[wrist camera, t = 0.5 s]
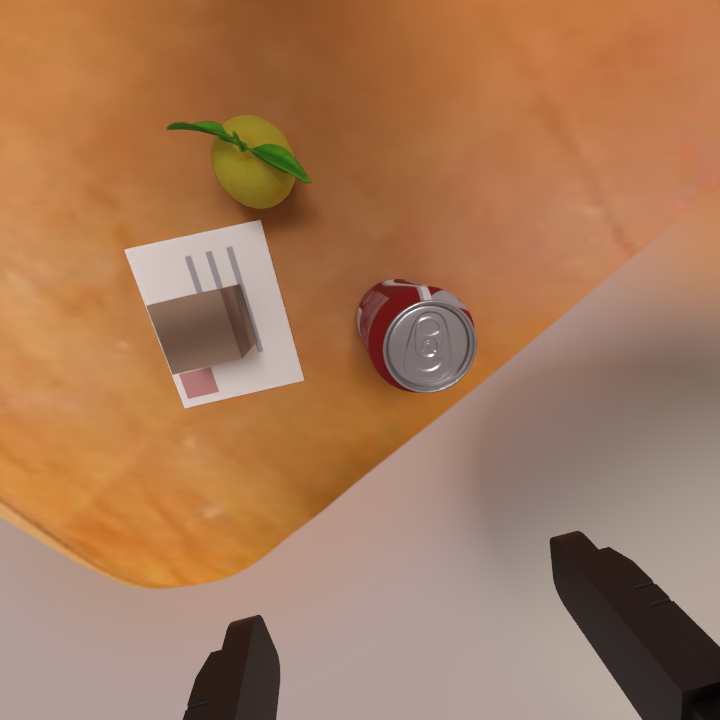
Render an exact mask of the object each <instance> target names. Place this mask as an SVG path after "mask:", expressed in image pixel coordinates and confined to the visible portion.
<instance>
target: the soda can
mask: <svg viewBox="0 0 720 720" xmlns="http://www.w3.org/2000/svg"><path fill="white" fill-rule="evenodd" d="M357 327H358V331H359V334H360V336H361V338H362V340H363V343H364V345H365V347H366V349H367V351H368V353H369V356H370V358H371V360H372V362H373V364H374V366H375V368H376V370H377V371H378V373H379V374H380V375H381V376H382V377H383V378H384V379H385V380H386V381H387V382H388V383H390V384H391V385H393V386H395V387H397V388H399V389H402V390H405V391H409V392H420V393H433V392H438V391H442V390H445V389H447V388H449V387H451V386H453V385H454V384H456V383H457V382H458V381H459V380H460V379H461V378H462V377H463V376H464V375H465V374H466V373H467V371H468V370H469V368H470V367H471V365H472V363H473V360H474V358H475V354H476V348H477V339H476V333H475V329H474V324H473V320H472V317H471V315H470V313H469V311H468V310H467V308H466V307H465V305H464V304H463V303H462V302H461V301H460V300H459V299H458V298H457V297H456V296H454V295H453V294H451V293H449V292H447V291H445V290H443V289H440V288H436V287H432V286H427V285H423V284H419V283H415V282H410V281H406V280H401V279H392V280H386V281H383V282H381V283H378V284H377V285H375V286H374V287H372V288H371V289H370V290H369V291H368V292H367V293H366V294H365V295H364V297H363V298H362V300H361V302H360V304H359V307H358V311H357Z"/></svg>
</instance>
